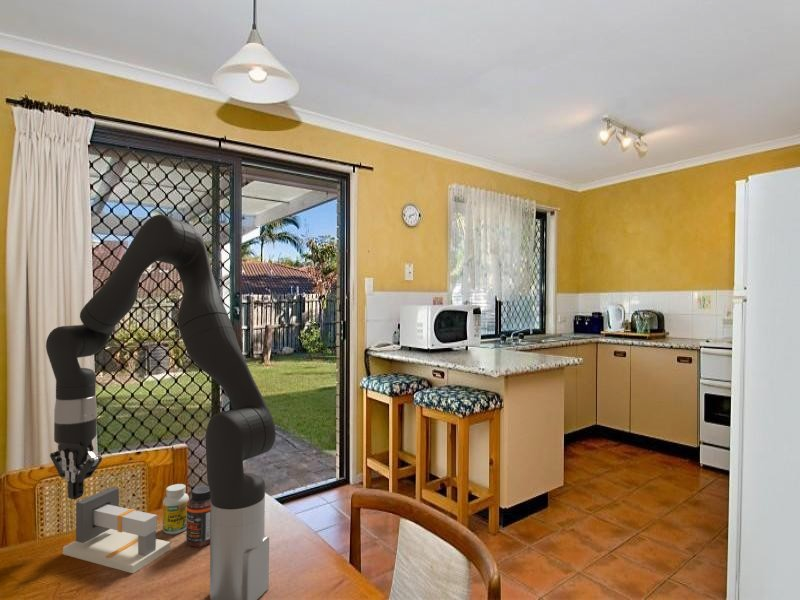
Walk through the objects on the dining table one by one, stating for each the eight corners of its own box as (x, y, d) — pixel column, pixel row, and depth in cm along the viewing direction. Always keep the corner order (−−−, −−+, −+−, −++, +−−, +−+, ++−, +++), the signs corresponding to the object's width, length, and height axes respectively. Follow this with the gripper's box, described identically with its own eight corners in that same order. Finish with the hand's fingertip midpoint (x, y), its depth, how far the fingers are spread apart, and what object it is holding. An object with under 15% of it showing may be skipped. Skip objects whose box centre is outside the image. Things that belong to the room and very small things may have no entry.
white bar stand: (170, 549, 97) (170, 508, 97) (133, 573, 89) (133, 528, 88) (103, 533, 103) (104, 494, 103) (62, 554, 95) (63, 512, 95)
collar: (118, 524, 101) (118, 488, 101) (83, 543, 93) (83, 503, 93) (111, 523, 102) (112, 486, 102) (75, 541, 94) (76, 502, 94)
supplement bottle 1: (186, 521, 109) (187, 480, 109) (190, 530, 105) (191, 488, 105) (161, 527, 106) (161, 485, 106) (164, 537, 102) (164, 494, 102)
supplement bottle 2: (179, 545, 98) (180, 493, 98) (198, 531, 104) (198, 482, 104) (204, 549, 97) (204, 496, 97) (221, 535, 103) (222, 485, 103)
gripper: (114, 416, 101) (114, 495, 101) (71, 410, 105) (71, 486, 105) (81, 425, 94) (80, 510, 94) (36, 419, 98) (35, 500, 98)
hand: (75, 497), depth 100 cm, fingers closed
